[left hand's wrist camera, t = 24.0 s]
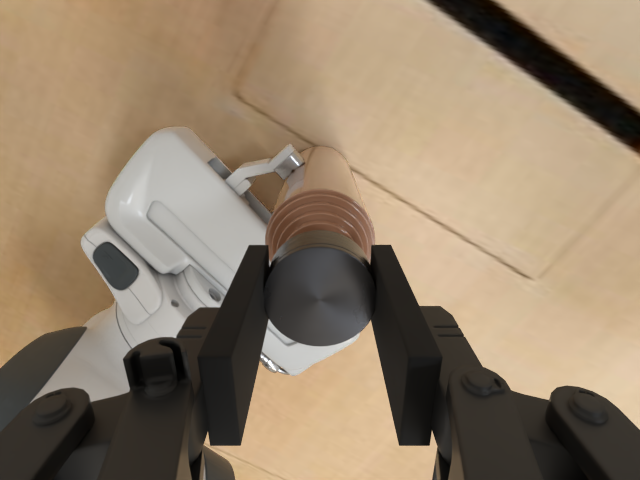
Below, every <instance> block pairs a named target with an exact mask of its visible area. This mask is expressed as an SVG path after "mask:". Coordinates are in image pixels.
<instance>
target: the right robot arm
mask: <svg viewBox="0 0 640 480" xmlns="http://www.w3.org/2000/svg"><path fill="white" fill-rule="evenodd" d="M303 162H304V158H303V157H302V156H301V155H300V153H299V152H298V151H297V150H296V149H295V147H294V146H293V145H292V144H291V143H289V144H288V145H287V146H286V147H285V148H284V149H282V150H281V151H280V152H279V153H278V154H277V155H276V156H275V157H274V158H273V159H271V158H268V159H263V160H258V161H252V162H247V163H243V164H242V165H241V166H240V167H239V168H238V169H237V170H236V171H235V172H233V173H232V171H231V170H230V169H229V168H228V167H227V166H226V165H225V164H224V163H223V162H222V161H221V160H220V159H219V158H218V157H217V156H216V155H215V154H214V153H213V152H212V151H211V150H210V148H209V147H208V146H207V145H206V144H205V143H204V142H203V141H202V140H201V139H200V138H199V137H198V136H197V135H196V134H195V133H194V132H193V131H192V130H191V129H190V128H188V127H176V126H174V127H166V128H162V129H160V130H158V131H156V132H154V133H153V134H152V135H151V136H150V137H149V138H148V139H147V140H146V141H145V142H144V143H143V144H142V145H141V146H140V147H139V149H138V150H137V151H136V152H135V153H134V155H133V156H132V157H131V158H130V160H129V161H128V162H127V164H126V165H125V166H124V168H123V169H122V171H121V172H120V174H119V175H118V177H117V178H116V180H115V181H114V183H113V184H112V186H111V188H110V190H109V192H108V194H107V197H106V201H105V213H106V216H105V217H104V218H102V219H101V220H100V221H98V222H97V223H96V224H95V225H93V226H92V227H91V228H90V229H89V230H88V231H87V232H86V233H85V234H84V235H83V237H82V238H81V247H82V249H83V251H84V253H85V254H86V256H87V257H88V258H89V260H90V261H91V263H92V264H93V265H94V267H95V268H96V270H97V271H98V272H99V274H100V275H101V277H102V278H103V280H104V281H105V283H106V284H107V286H108V287H109V289H110V291H111V292H112V294H113V296H114V297H115V301H114V303H113V305H112V306H111V307H110V308H108V309H105V310H103V311H101V312H99V313H97V314H96V315H94V316H93V317H92V318H90V319H89V320H88V321H87V322H86V323H85V324H84V325H83V326H81V327H72V328H67V329H63V330H59V331H55V332H51V333H47V334H44V335H42V336H41V337H39V338H37V339H36V340H34V341H33V342H31V343H30V344H28V345H27V346H26V347H24V348H23V349H22V350H21V351H19V352H18V353H17V354H16V355H15V356H13V357H12V358H11V359H10V360H9V361H8V362H7V363H6V364H5V365H4V366H3V367H1V368H0V432H1V431H2V430H3V429H4V428H5V427H6V426H7V425H8V424H9V423H10V422H11V421H12V420H13V419H14V418H15V417H16V416H17V415H18V414H19V413H20V412H21V411H22V410H23V409H24V408H25V407H26V406H28V405H29V404H30V403H31V402H32V401H34V400H36V399H37V398H39V397H41V396H43V395H45V394H47V393H49V392H52V391H55V390H59V389H62V388H72V387H75V388H80V389H84V390H85V391H86V392H87V393H88V394H89V397H90V400H91V402H92V401H97V400H101V399H105V398H110V397H114V396H118V395H121V394H124V393H127V392H129V390H130V387H129V383H128V379H127V375H126V371H125V367H124V363H123V358H124V357H125V355H126V354H127V353H128V351H130V350H131V349H132V348H134V347H135V346H136V345H138V344H140V343H143V342H145V341H147V340H150V339H154V338H159V337H174V338H176V336H177V334H178V332H179V331H180V329H181V328H182V325H183V324H184V322H185V320H186V319H187V317H188V316H189V315H190V314H192V313H193V312H194V311H196V310H197V309H198V308H199V307H220V306H221V304H222V302H223V300H224V298H225V296H226V293H227V291H228V289H229V287H230V285H231V283H232V280H233V278H234V276H235V274H236V272H237V270H238V267H239V265H240V263H241V261H242V259H243V257H244V254H245V252H246V250H247V248H248V246H249V245H265V234H266V229H267V225H268V222H269V220H270V217H271V215H272V213H271V212H270V211H269V210H268V209H267V208H266V207H265V206H264V205H263V204H262V203H261V202H260V201H259V200H258V199H257V198H256V197H255V196H254V195H253V193H252V192H251V191H250V190H249V189H248V188H249V187H250V186H251V185H252V184H253V182H254V181H255V180H256V176H257V175H262V174H266V173H271V172H276V173H277V174H278V175H279V176H280V177H281V178H282V179H283V180H285V179H286V178H287V177H288V176H289V175H290V174H291V172H292V170H295V169H297V168H298V167H299V166H301V165H302V163H303ZM269 264H271V262H270V260H269ZM359 335H360V333H358V334H357V335H356V336H354V337H353V338H351V339H349V340H347V341H345V342H342V343H339V344H336V345H331V346H321V347H320V346H309V345H304V344H301V343H298V342H295V341H293V340H291V339H289V338H287V337H286V336H284V335H283V334H282V333H281V332H279V331H278V330H277V329H276V328H275V327H274V325H273V324H272V323H271V321H270V320H269V321H268V325H267V330H266V334H265V339H264V343H263V347H262V352H261V356H260V362H261V363H262V365H263V366H264V367H265V368H266V369H268V370H269V371H271V372H273V373H276V372H277V371H278V372H280V373H282V374H286V375H292V376H295V375H298V374H300V373H302V372H303V371H304V370H306V369H307V368H309V367H310V366H312V365H313V364H315V363H317V362H319V361H321V360H323V359H325V358H327V357H329V356H331V355H333V354H335V353H337V352H338V351H340V350H342V349H344V348H345V347H347V346H349V345H350V344H352V343H353V342H355V341H356V340H357V339H358V337H359ZM281 367H282V368H281ZM203 454H204V461H205V464H204V476H203V480H235V476H234V471H233V468H232V466H231V464H230V463H229V462H228V461H227V460H226V459H225V458H223V457H222V456H220V455H218V454H217V453H215V452H214V451H212V450H211V449H209V448H207V447H206V446H204V445H203Z"/></svg>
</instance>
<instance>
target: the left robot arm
mask: <svg viewBox="0 0 640 480" xmlns="http://www.w3.org/2000/svg"><path fill="white" fill-rule="evenodd" d="M269 267H270V264H269V246H268V245H249V246H248V248H247V250H246V252H245V254H244V257H243V259H242V261H241V263H240V265H239V267H238V270H237V272H236V274H235V276H234V278H233V280H232V283H231V285H230V287H229V289H228V291H227V293H226V296H225V298H224V300H223V302H222V304H221V306H220V307H199V308H198V309H197V310H196V311H194V312H193V313H192V314H190V315H189V316H188V317H187V319H186V320H185V322H184V324H183V325H182V328H181V329H180V331H179V332H178V334H177V336H176V338H174V337H159V338H154V339H150V340H147V341H145V342H143V343H140V344H138V345H136V346H135V347H134V348H132V349H131V350H130V351H128V353H127V354H126V355H125V357H124V358H123V363H124V367H125V371H126V375H127V379H128V383H129V387H130V390H129V392H127V393H124V394H121V395H118V396H114V397H110V398H105V399H101V400H97V401H92V402H91V400H90V397H89V394H88V393H87V392H86V391H85V390H84V389H80V388H75V387H72V388H62V389H59V390H55V391H52V392H49V393H47V394H45V395H43V396H41V397H39V398H37V399H36V400H34V401H32V402H31V403H30V404H29V405H28V406H26V407H25V408H24V409H23V410H22V411H21V412H20V413H19V414H18V415H17V416H16V417H15V418H14V419H13V420H12V421H11V422H10V423H9V424H8V425H7V426H6V427H5V428H4V429H3V430H2V431H1V432H0V480H203V476H204V464H205V461H204V454H203V444H204V441H205V438H206V435H207V432H208V433H209V440H210V446H241V441H242V437H243V432H244V428H245V423H246V419H247V414H248V410H249V406H250V401H251V397H252V392H253V388H254V383H255V379H256V374H257V370H258V365H259V361H260V356H261V352H262V347H263V343H264V339H265V334H266V330H267V325H268V321H269V318H268V316H267V314H266V311H265V308H264V292H263V290H264V285H265V281H266V278H267V274H268V271H269ZM370 267H371V270H372V274H373V277H374V281H375V284H376V305H375V312H374V314H373V316H372V318H371V322H372V326H373V331H374V335H375V340H376V344H377V349H378V353H379V357H380V362H381V366H382V371H383V375H384V380H385V384H386V389H387V393H388V398H389V402H390V407H391V411H392V416H393V420H394V425H395V429H396V433H397V438H398V442H399V446H429V445H430V439H431V432H432V431H433V434H434V437H435V440H436V443H437V446H438V447H437V454H436V460H435V466H434V472H433V479H432V480H640V430H639V429H638V428H637V427H636V426H635V425H634V424H633V423H632V422H631V421H630V420H629V419H628V418H627V417H626V416H625V415H624V414H623V413H622V412H621V411H620V410H619V409H618V408H617V407H616V406H615V405H614V404H612V403H611V402H610V401H609V400H607V399H606V398H604V397H602V396H600V395H598V394H597V393H595V392H593V391H590V390H587V389H583V388H580V387H574V386H563V387H558V388H556V389H555V390H554V391H553V392H552V393H551V396H550V399H549V400H545V399H541V398H537V397H533V396H528V395H524V394H520V393H517V392H514V391H512V390H510V388H509V386H508V384H507V383H506V381H505V380H504V379H503V378H501V377H500V376H499V375H498V374H497V373H495V372H493V371H491V370H489V369H487V368H484V367H482V365H481V363H480V362H479V360H478V358H477V356H476V355H475V353H474V351H473V350H472V348H471V346H470V345H469V343H468V341H467V340H466V338H465V337H464V334H463V333H462V331H461V329H460V328H458V324H457V323H456V321H455V319H454V318H453V316H452V315H451V314H450V313H448V312H447V311H446V310H445V309H443V308H442V307H441V306H419V305H418V303H417V300H416V298H415V296H414V294H413V292H412V290H411V287H410V285H409V283H408V281H407V279H406V277H405V275H404V272H403V270H402V268H401V266H400V264H399V262H398V259H397V257H396V255H395V253H394V251H393V249H392V246H391V245H371V259H370Z"/></svg>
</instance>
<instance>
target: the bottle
mask: <svg viewBox="0 0 640 480" xmlns="http://www.w3.org/2000/svg"><path fill="white" fill-rule="evenodd" d="M300 155H301V156H302V157H303V158H304V162H303V163H302V165H301V166H299V167H298V168H297V169H295V170H292V172H291V174H290V175H289V176H288V177H287V178H286V179H285V182H284V184H283V187H282V189H281V192H280V194H279V197H278V200H277V202H276V205H275V207H274V210H273V212H272V215H271V217H270V220H269V222H268V225H267V229H266V234H265V245H268V246H269V260H270V262H271V261H272V259H273V257H274V255H275V253H276V252H277V250H278V249H279V248H280V247H281V246H282V245H283V244H284V243H285V242H286V241H287V240H289V239H291V238H292V237H294V236H296V235H298V234H301V233H304V232H308V231H313V230H327V231H333V232H336V233H339V234H342V235H344V236H346V237H348V238H350V239H351V240H353V241H354V242H355V243H356V244H357V245H358V246H359V247H360V248H361V249H362V250H363V252H364V253H365V254H366V256H367V258H368V261H369V263H370V259H371V245H375V233H374V228H373V225H372V222H371V219H370V217H369V214H368V212H367V209H366V207H365V204H364V202H363V199H362V197H361V194H360V192H359V189H358V186H357V184H356V181H355V179H354V176H353V174H352V171H351V169H350V166H349V164H348V162H347V160H346V159H345V158H344V157H343V155H342V154H340V153H339V152H338V151H336V150H334V149H332V148H329V147H325V146H315V147H311V148H308V149H306V150H304V151H302V152H301V153H300Z"/></svg>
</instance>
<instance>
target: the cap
mask: <svg viewBox="0 0 640 480" xmlns="http://www.w3.org/2000/svg"><path fill="white" fill-rule="evenodd" d="M263 292H264V308H265V311H266V314H267V316H268V318H269V320H270V321H271V323H272V324H273V325H274V327H275V328H276V329H277V330H278V331H279V332H281V333H282V334H283V335H284V336H286V337H287V338H289V339H291V340H293V341H295V342H298V343H301V344H304V345H309V346H320V347H321V346H331V345H336V344H339V343H342V342H345V341H347V340H349V339H351V338H353V337H354V336H356V335H357V334H358V333H360V332H361V331H362V330H363V329H364V328H365V327H366V325H367V324H368V323H369V321H370V320H371V318H372V316H373V314H374V312H375V305H376V284H375V281H374V277H373V274H372V270H371V267H370V264H369V261H368V258H367V256H366V254H365V253H364V252H363V250H362V249H361V248H360V247H359V246H358V245H357V244H356V243H355V242H354V241H353V240H351V239H350V238H348V237H346V236H344V235H342V234H339V233H336V232H333V231H327V230H313V231H308V232H304V233H301V234H298V235H296V236H294V237H292V238H291V239H289V240H287V241H286V242H285V243H284V244H283V245H282V246H281V247H280V248H279V249H278V250H277V252H276V253H275V255H274V257H273V259H272V261H271V264H270V267H269V271H268V274H267V278H266V281H265V285H264V290H263Z"/></svg>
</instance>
